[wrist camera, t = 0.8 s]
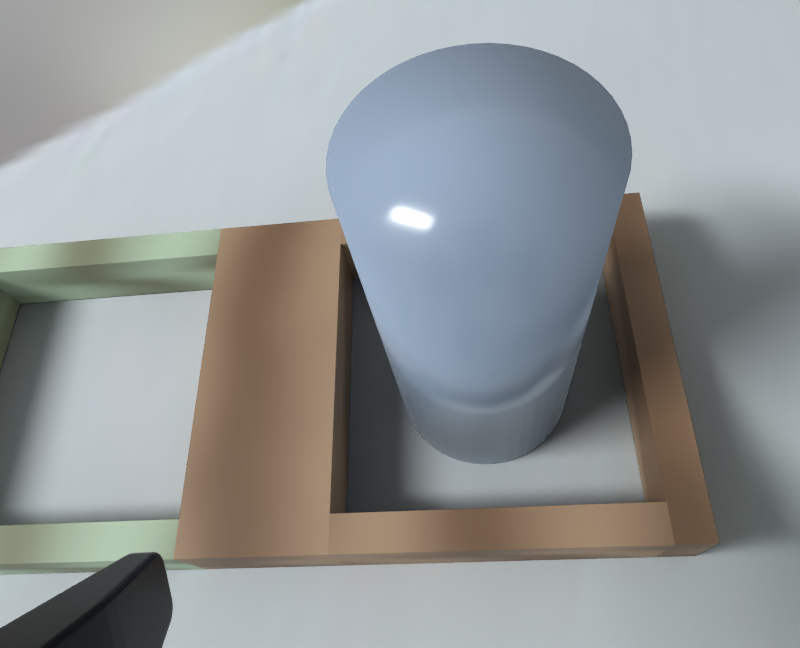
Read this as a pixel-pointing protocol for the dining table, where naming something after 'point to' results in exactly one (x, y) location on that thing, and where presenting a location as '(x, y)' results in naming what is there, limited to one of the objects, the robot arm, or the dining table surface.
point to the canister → (481, 233)
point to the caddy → (341, 415)
